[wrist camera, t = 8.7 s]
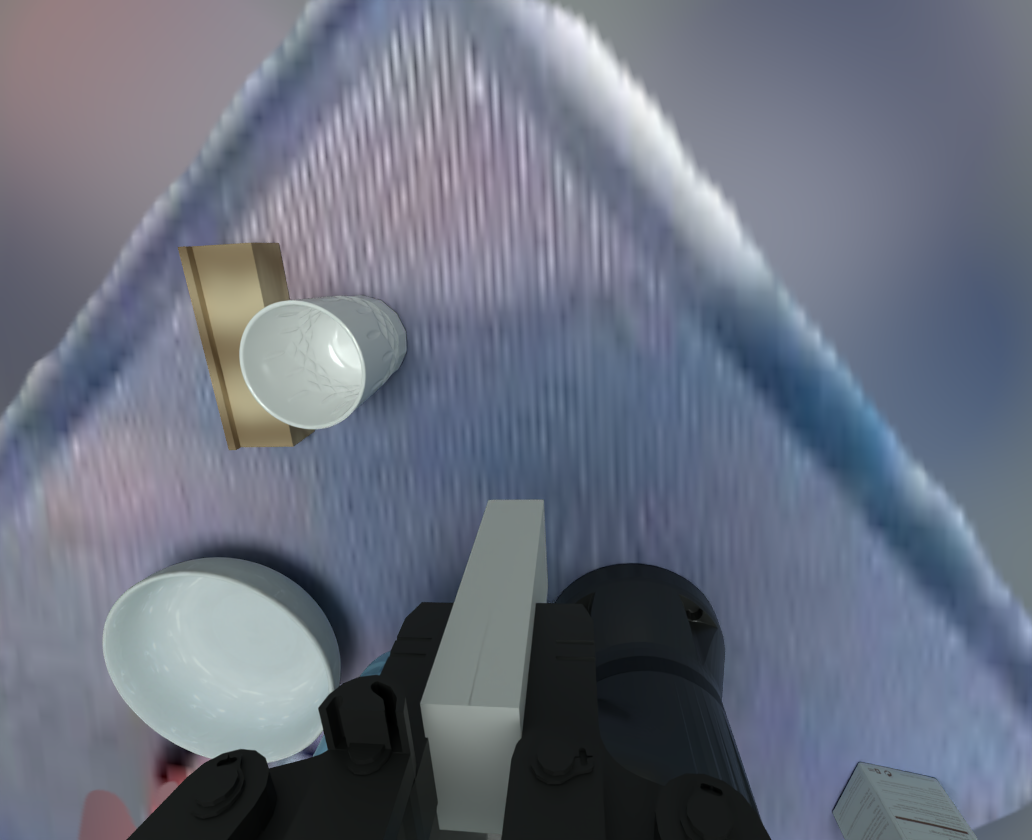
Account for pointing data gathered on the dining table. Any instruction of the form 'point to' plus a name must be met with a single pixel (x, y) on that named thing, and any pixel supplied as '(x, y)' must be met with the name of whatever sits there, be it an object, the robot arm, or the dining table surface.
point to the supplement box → (897, 807)
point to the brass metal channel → (236, 331)
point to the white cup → (320, 357)
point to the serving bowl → (223, 657)
